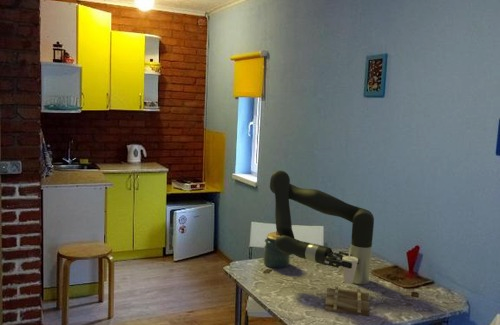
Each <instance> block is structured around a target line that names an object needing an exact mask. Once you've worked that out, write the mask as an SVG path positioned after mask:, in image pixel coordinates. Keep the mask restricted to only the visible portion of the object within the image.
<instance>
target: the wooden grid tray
mask: <svg viewBox="0 0 500 325" xmlns="http://www.w3.org/2000/svg"><path fill="white" fill-rule="evenodd" d="M369 296H370V293H369V292H364V291H362V290H361V289H360V288H357V291H355V290H350V289H349V290H347V289H341V288H340V289H339V286H338V285H336V286H334V287H333V288H331V287H327V288H326V296H325V306H324V311H326V312H327V311H328V312H336V313H344V314H351V315H357V316H363V317H364V316H366V317H370V303H371V302H370V301H369V299H370V298H369Z"/></svg>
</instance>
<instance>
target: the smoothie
mask: <svg viewBox="0 0 500 325" xmlns="http://www.w3.org/2000/svg"><path fill="white" fill-rule="evenodd" d="M348 249H349V250H348V254H349V256H344V257H342V260H343V261H346V262H350V263H352V268H351V269H349V268H346V267H342V272H343V276H342V277H343V282H344V283H346V284H354V283H353V280H354V275H355V271H356V266H357V263H358V259H357V258H356V257H352V256H350V253H351V247H349V248H348Z"/></svg>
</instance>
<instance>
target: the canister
mask: <svg viewBox="0 0 500 325" xmlns="http://www.w3.org/2000/svg"><path fill="white" fill-rule="evenodd" d="M279 236H280V235H279V233H278V232H277V229H275V231H273V232H270V233H268V234H267V235H266V238H265V239H264V242H265V245H264V246H263V247H264V252H263V253H264V254H263V264H264V265H265V266H266V267H269V268H273V269H284V268H287V267H289V264H290V256H291V255H286V254H284V253H282V252H281V251H279V250H278V249H277V248H276V246H275V241H276V239H277V238H278V237H279Z"/></svg>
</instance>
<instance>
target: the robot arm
mask: <svg viewBox="0 0 500 325" xmlns="http://www.w3.org/2000/svg"><path fill="white" fill-rule="evenodd" d="M290 178H291V177H290V176H289V174H288V173H287V172H286V171H284V170H278V171H274V172H273V173H272V175H271V177H270V182H269V190H270V191H271V193H273V194H274V197H275V198H274V199H275V202H274V203H275V204H274V206H275V207H274V208H275V211H274V212H275V214H274V215H275V217H274V219H275V228H276V229H275V230H277V232H278V233H279V235H280V236H279V237H278V238H277V239H276V241H275V246H276V248H277V249H278V250H279V251H281V252H282V253H284V254H286V255H290V256H291V255H294V256H296V257H298V258H301V259H303V260H307V261H310V262H312V263H315V264H320V265H323V266H329V267H333V268H343V267H346V268H349V269H351V268H352V263H350V262H346V261H343V260H342V257H344V256H349V253H347V252H344V251H341V250H340V251H338V252H333V249H332V248H331V247H329V246H325V245H320V244H318V243H317V244H316V243H312V242H308V241H302V240H299V239H296V238H295V234H294V232H293V225H292V218H291V217H292V216H291V215H292V214H291V207H290V200H291V201H294V202H296V203H298V204H301V205H303V206H306V207H308V208H311V210H315V211H317V212H319V213H322V214H324V215H328V216H333V217H338V218H341V219H344V220H347V221H348V222H350V223H352V224H351V228H352V229H351V242H350V243H351V244H350V248H351V250H350V256H352V257H356V258H357V259H358V263H357V266H356V271H355V275H354V280H353V283H352V284H356V285H367V284H369V282H370V273H371V260H372V259H371V258H372V248H373V235H374V228H375V227H374V226H375V224H374V223H375V218H374V215H373V213H372V212H371V211H370V210H368V209H366V208H363V207H359V206H356V205H352V204H350V203H347V202H345V201H343V200H341V199H339V198H337V197H336V196H333V195H331V194H329V193H328V192H324V191H323V190H320V189H315V188H314V189H313V188H301V187H298V186H296V185H294V184H292V183H291V179H290Z"/></svg>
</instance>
